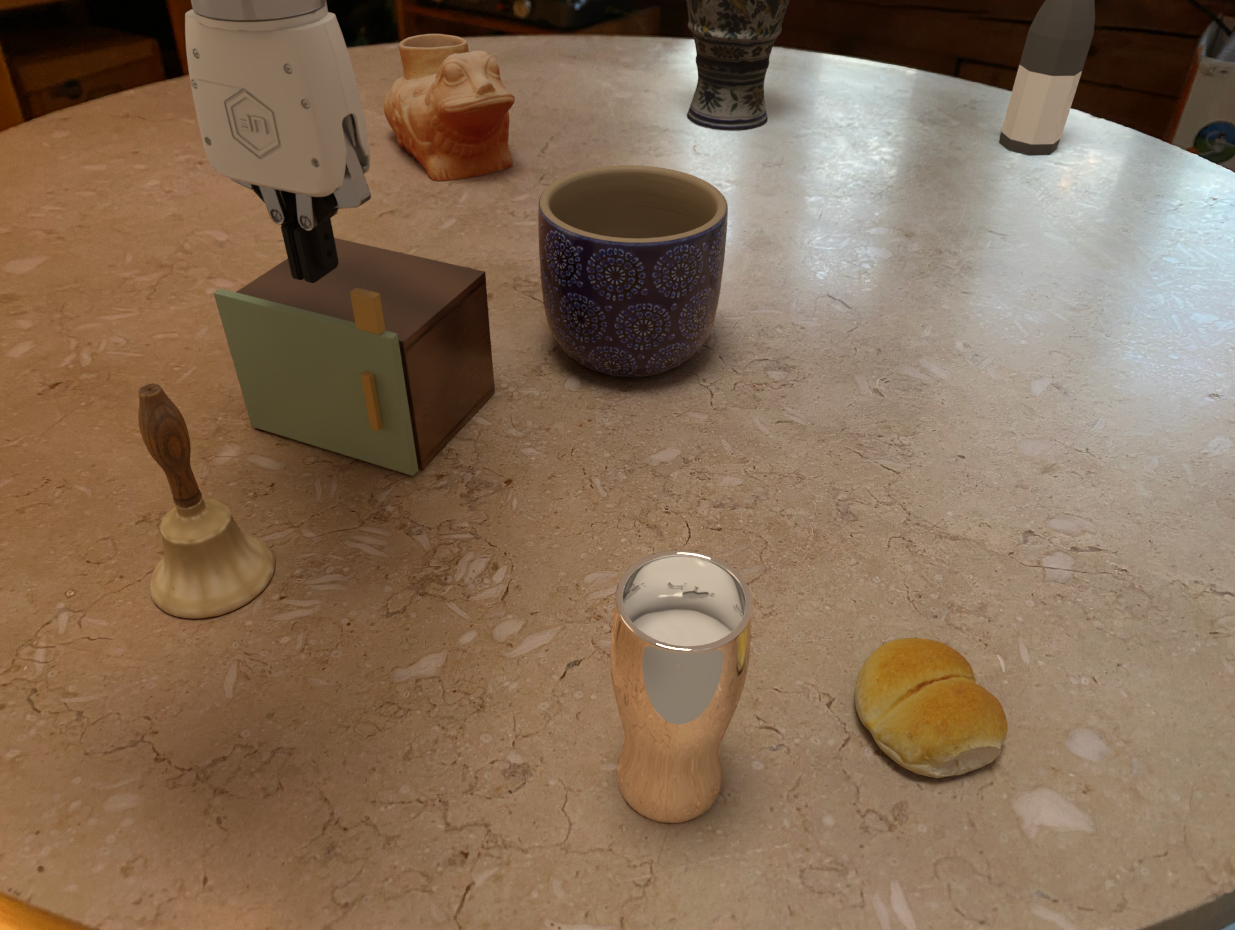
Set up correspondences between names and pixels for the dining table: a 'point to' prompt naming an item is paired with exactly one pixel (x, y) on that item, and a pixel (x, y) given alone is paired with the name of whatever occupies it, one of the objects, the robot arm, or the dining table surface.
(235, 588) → the hand bell
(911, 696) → the bread roll
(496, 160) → the ceramic vessel
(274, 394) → the sliding door
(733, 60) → the vase
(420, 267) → the cupboard
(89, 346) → the dining table surface
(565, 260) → the planter
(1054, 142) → the wine bottle
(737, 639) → the beer glass
